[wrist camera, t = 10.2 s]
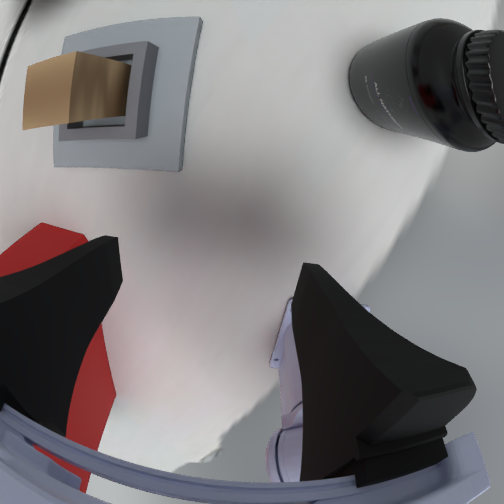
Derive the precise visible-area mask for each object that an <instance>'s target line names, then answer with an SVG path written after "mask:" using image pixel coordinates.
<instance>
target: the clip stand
mask: <svg viewBox="0 0 504 504" xmlns="http://www.w3.org/2000/svg"><path fill="white" fill-rule="evenodd" d="M202 22H203V21H202V19H201V18H200V17H173V18H159V19H149V20H141V21H134V22H127V23H121V24H115V25H110V26H105V27H101V28H96V29H92V30H88V31H84V32H81V33H77V34H74V35H70V36H67V37H65V39H64V44H63V49H62V54H61V55H64V54H67V53H71V52H75V51H79V52H83V53H88V54H92V55H96V56H100V57H104V58H108V59H112V60H115V61H119V62H122V63H126V64H129V65H132V67H131V73H130V80H129V88H128V96H127V106H126V116H119V117H109V118H101V119H93V120H86V121H79V122H73V123H67V124H58V125H54V132H53V154H54V167H95V168H124V169H142V170H157V171H170V172H179V171H180V170H182V162H183V150H184V140H185V130H186V121H187V113H188V105H189V97H190V90H191V83H192V76H193V70H194V64H195V58H196V53H197V47H198V42H199V37H200V32H201V27H202Z"/></svg>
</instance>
